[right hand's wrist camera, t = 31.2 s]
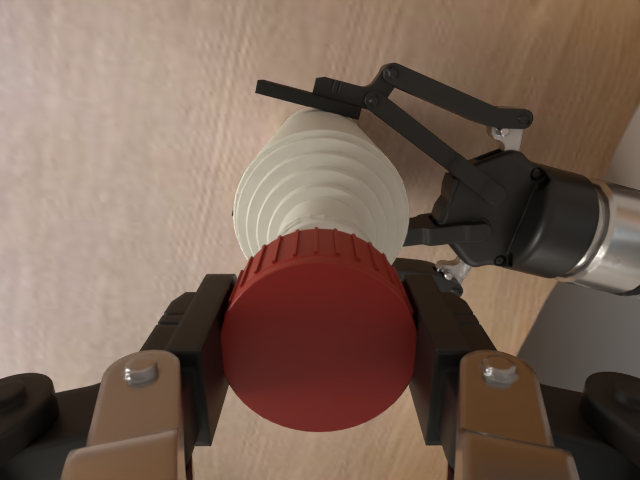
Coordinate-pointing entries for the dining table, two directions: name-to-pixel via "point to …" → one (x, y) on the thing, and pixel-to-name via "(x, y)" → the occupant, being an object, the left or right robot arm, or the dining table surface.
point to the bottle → (321, 186)
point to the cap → (318, 332)
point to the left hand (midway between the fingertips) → (247, 148)
